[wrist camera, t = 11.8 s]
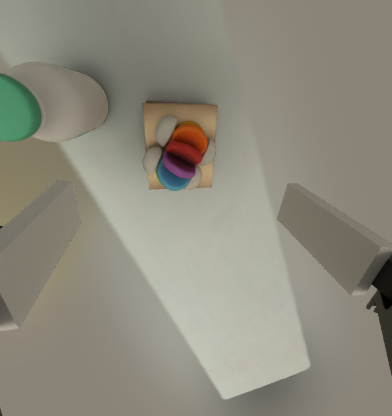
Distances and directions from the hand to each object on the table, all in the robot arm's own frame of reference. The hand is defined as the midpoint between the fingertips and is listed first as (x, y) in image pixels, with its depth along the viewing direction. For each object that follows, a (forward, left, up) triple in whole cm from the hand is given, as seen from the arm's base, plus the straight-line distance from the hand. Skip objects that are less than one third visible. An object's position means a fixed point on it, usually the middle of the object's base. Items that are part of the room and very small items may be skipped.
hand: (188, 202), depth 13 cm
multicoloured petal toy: (+1, +1, -19) cm, 19 cm away
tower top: (+1, +2, -23) cm, 23 cm away
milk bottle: (-4, -13, -27) cm, 30 cm away
